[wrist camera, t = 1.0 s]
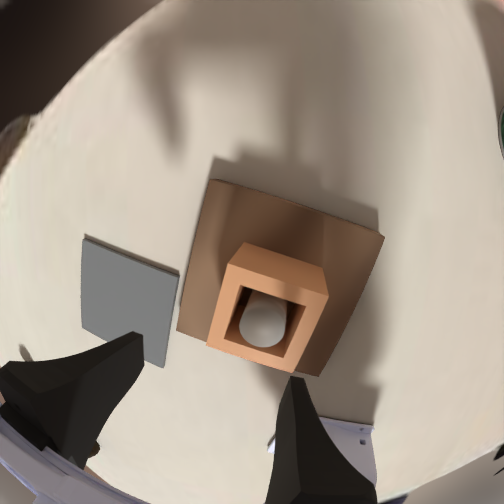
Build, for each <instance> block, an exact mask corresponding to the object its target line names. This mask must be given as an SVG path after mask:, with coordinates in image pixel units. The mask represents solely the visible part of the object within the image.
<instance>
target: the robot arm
mask: <svg viewBox="0 0 504 504" xmlns="http://www.w3.org/2000/svg"><path fill="white" fill-rule="evenodd" d="M143 367H144V344H143V335H142V334H139V333H137V332H134V331H132V332H129V333H127V334H125V335H123V336H120V337H118V338H116V339H114V340H112V341H109V342H107V343H105V344H103V345H100V346H98V347H95V348H93V349H90V350H88V351H85V352H82V353H79V354H76V355H72V356H68V357H64V358H59V359H53V360H47V361H34V362H21V361H9V362H8V363H7V364H5V365H4V366H3V367H2V368H0V392H1V394H2V396H3V397H4V399H5V401H6V402H5V403H4V404H3V405H2V403H1V402H0V463H2V465H3V466H4V467H5V468H6V469H7V470H9V472H11V473H12V474H13V475H14V476H15V477H16V478H17V479H18V480H19V481H20V482H21V483H23V484H24V485H25V486H26V487H27V488H28V489H30V490H31V491H32V492H33V493H34V494H36V495H37V498H36V499H35V500H34V501H33V503H32V504H150V503H147V502H145V501H143V500H140V499H138V498H136V497H133V496H131V495H129V494H127V493H125V492H122V491H120V490H118V489H116V488H114V487H112V486H110V485H108V484H106V483H105V482H103V481H101V480H99V479H97V478H95V477H94V476H92V475H90V474H88V473H86V472H85V471H83V470H84V467H85V465H86V462H87V459H88V457H89V454H90V452H91V450H92V448H93V446H94V444H95V441H96V439H97V438H98V436H99V434H100V432H101V430H102V428H103V426H104V424H105V423H106V421H107V419H108V418H109V416H110V414H111V413H112V411H113V410H114V409H115V407H116V406H117V405H118V403H119V402H120V401H121V399H122V398H123V397H124V396H125V394H126V393H127V392H128V390H129V389H130V388H131V387H132V385H133V384H134V383H135V381H136V380H137V378H138V376H139V374H140V373H141V371H142V369H143ZM373 431H374V426H372V425H365V424H358V423H351V422H345V421H339V420H334V419H328V418H323V417H319V416H318V414H317V412H316V410H315V407H314V405H313V403H312V400H311V398H310V395H309V392H308V389H307V386H306V383H305V380H304V378H300V377H294V376H290V378H289V381H288V384H287V386H286V389H285V392H284V394H283V397H282V399H281V402H280V405H279V410H278V415H277V421H276V434H275V438H274V440H273V441H272V443H271V444H270V445H269V447H268V449H267V451H268V452H269V453H273V454H274V462H273V469H272V474H271V479H270V484H269V489H268V493H267V497H266V502H265V503H264V504H377V495H376V490H375V486H376V481H377V471H376V464H375V458H374V451H373V445H372V439H371V433H372V432H373Z"/></svg>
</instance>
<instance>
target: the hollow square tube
mask: <svg viewBox="0 0 504 504" xmlns="http://www.w3.org/2000/svg"><path fill="white" fill-rule="evenodd" d="M245 286H246V287H249V288H252V289H255V290H258V291H261V292H264V293H267V294H270V295H273V296H276V297H279V298H282V299H285V300H288V301H291V302H295V303H294V305H293V308H292V310H291V313H290V315H289V318H288V320H286V324H285V332H284V336H283V338H282V339H281V340H280V341H279V342H278V343H277V344H275V345H273V346H270V347H257V346H254V345H252V344H250V343H248V342H247V341H246V340H245V339H244V338H243V337H242V335H241V333H240V329H239V324H240V320H241V318H242V315H243V313H244V310H245V308H246V307H244V306H241V305H239V304H240V301H241V297H242V294H243V291H244V288H245ZM328 297H329V294H328V290H327V285H326V281H325V277H324V272H323V268H321V267H318V266H315V265H312V264H309V263H306V262H303V261H300V260H297V259H294V258H291V257H288V256H285V255H282V254H279V253H276V252H273V251H270V250H267V249H264V248H261V247H258V246H255V245H252V244H249V243H246V242H244V243H243V244H242V246H241V247H240V248H239V249H238V251H237V252H236V253H235V255H234V256H233V257H232V258H231V260H230V261H229V262H228V264H227V268H226V272H225V275H224V279H223V283H222V286H221V290H220V294H219V297H218V301H217V305H216V309H215V312H214V316H213V320H212V324H211V327H210V331H209V335H208V339H207V343H206V345H207V346H209V347H212V348H215V349H218V350H221V351H223V352H226V353H229V354H232V355H235V356H238V357H241V358H244V359H247V360H250V361H253V362H256V363H260V364H263V365H266V366H269V367H273V368H276V369H280V370H283V371H287V372H290V373H293V371H294V369H295V368H296V366H297V364H298V362H299V360H300V358H301V356H302V354H303V352H304V350H305V347H306V345H307V343H308V341H309V339H310V337H311V335H312V333H313V331H314V329H315V326H316V324H317V322H318V320H319V318H320V316H321V313H322V311H323V309H324V307H325V304H326V302H327V300H328Z"/></svg>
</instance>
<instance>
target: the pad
mask: <svg viewBox="0 0 504 504" xmlns="http://www.w3.org/2000/svg"><path fill="white" fill-rule="evenodd" d="M179 278H180V276H178V275H175V274H173V273H170V272H168V271H165V270H162V269H160V268H157V267H154V266H152V265H149V264H147V263H144V262H142V261H139V260H136V259H134V258H131V257H129V256H126V255H124V254H121V253H119V252H117V251H114V250H112V249H109V248H107V247H104V246H102V245H100V244H97V243H95V242H92V241H90V240H88V239H83V241H82V259H81V318H82V328H84V329H85V330H87V331H89V332H91V333H92V334H94V335H96V336H98V337H100V338H101V339H103V340H105V341H107V342H109V341H112V340H114V339H116V338H118V337H120V336H123V335H125V334H127V333H129V332H132V331H134V332H137V333H139V334H142V335H143V344H144V360H145V361H147V362H149V363H152V364H154V365H156V366H158V367H161V368H164V366H165V359H166V353H167V346H168V339H169V333H170V327H171V321H172V315H173V310H174V304H175V299H176V293H177V288H178V283H179Z"/></svg>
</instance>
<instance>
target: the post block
mask: <svg viewBox="0 0 504 504" xmlns="http://www.w3.org/2000/svg"><path fill="white" fill-rule="evenodd" d="M384 239H385V237H384V236H383V235H381V234H380V233H378V232H376V231H373V230H371V229H368V228H365V227H363V226H360V225H357V224H355V223H352V222H349V221H346V220H344V219H341V218H338V217H335V216H332V215H330V214H327V213H324V212H321V211H318V210H315V209H312V208H309V207H306V206H303V205H300V204H297V203H294V202H291V201H288V200H285V199H282V198H279V197H276V196H272V195H269V194H266V193H263V192H260V191H256V190H253V189H250V188H246V187H243V186H240V185H236V184H233V183H229V182H226V181H222V180H219V179H210V181H209V184H208V188H207V192H206V196H205V200H204V204H203V208H202V212H201V216H200V220H199V224H198V228H197V232H196V236H195V241H194V245H193V250H192V254H191V258H190V263H189V268H188V272H187V277H186V282H185V287H184V291H183V296H182V302H181V307H180V312H179V317H178V323H177V328H176V331H179V332H181V333H184V334H186V335H189V336H191V337H194V338H197V339H199V340H202V341H205V342H207V339H208V335H209V331H210V327H211V324H212V320H213V316H214V312H215V309H216V305H217V301H218V297H219V294H220V290H221V286H222V283H223V279H224V275H225V272H226V268H227V264H228V262H229V261H230V260H231V258H232V257H233V256H234V255H235V253H236V252H237V251H238V249H239V248H240V247H241V246H242V244H243V243H244V242H246V243H249V244H252V245H255V246H258V247H261V248H264V249H267V250H270V251H273V252H276V253H279V254H282V255H285V256H288V257H291V258H294V259H297V260H300V261H303V262H306V263H309V264H312V265H315V266H318V267H321V268H323V272H324V277H325V281H326V285H327V290H328V294H329V297H328V300H327V302H326V304H325V307H324V309H323V311H322V313H321V316H320V318H319V320H318V322H317V324H316V326H315V329H314V331H313V333H312V335H311V337H310V339H309V341H308V343H307V345H306V347H305V350H304V352H303V354H302V356H301V358H300V360H299V362H298V364H297V366H296V368H295V369H294V371H298V372H302V373H305V374H309V375H313V376H317V377H319V375H320V374H321V372H322V370H323V368H324V367H325V365H326V363H327V361H328V359H329V358H330V356H331V354H332V352H333V350H334V348H335V347H336V345H337V343H338V341H339V339H340V337H341V335H342V333H343V331H344V329H345V327H346V325H347V323H348V321H349V319H350V317H351V315H352V313H353V311H354V309H355V307H356V305H357V303H358V300H359V298H360V296H361V294H362V292H363V290H364V287H365V285H366V283H367V281H368V278H369V276H370V274H371V271H372V269H373V266H374V264H375V262H376V259H377V257H378V254H379V252H380V249H381V247H382V244H383V242H384ZM294 303H295V302H291V301H288V300H285V299H282V298H279V297H276V296H273V295H270V294H267V293H264V292H261V291H258V290H255V289H252V288H249V287H246V286H245V288H244V291H243V294H242V297H241V301H240V304H239V305H241V306H244V307H246V308H245V310H244V313H243V315H242V318H241V320H240V324H239V329H240V333H241V335H242V337H243V338H244V339H245V340H246V341H247V342H248V343H250V344H252V345H254V346H257V347H270V346H273V345H275V344H277V343H278V342H279V341H280V340H281V339H282V338H283V336H284V332H285V324H286V320H288V318H289V315H290V313H291V310H292V308H293V305H294Z"/></svg>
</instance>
